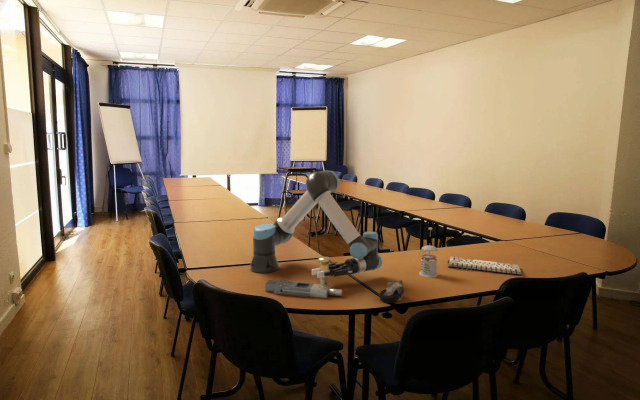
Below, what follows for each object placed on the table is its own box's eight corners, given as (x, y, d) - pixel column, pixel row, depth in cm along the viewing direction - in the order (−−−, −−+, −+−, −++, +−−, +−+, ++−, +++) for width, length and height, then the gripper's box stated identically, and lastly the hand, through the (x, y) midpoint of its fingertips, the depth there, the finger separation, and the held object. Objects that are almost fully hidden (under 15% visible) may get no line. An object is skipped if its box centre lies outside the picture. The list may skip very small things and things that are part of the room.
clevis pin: (317, 288, 192) (317, 259, 190) (320, 284, 197) (320, 256, 195) (328, 289, 191) (329, 260, 189) (331, 285, 196) (331, 257, 194)
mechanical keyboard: (518, 267, 230) (519, 261, 230) (522, 278, 213) (523, 272, 212) (448, 260, 243) (448, 255, 243) (446, 270, 225) (446, 264, 225)
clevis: (263, 292, 187) (263, 285, 186) (270, 286, 196) (270, 278, 195) (339, 300, 179) (339, 292, 178) (343, 293, 187) (343, 285, 187)
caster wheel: (382, 309, 176) (379, 297, 186) (408, 304, 176) (403, 292, 185) (380, 295, 174) (376, 284, 184) (406, 290, 174) (401, 279, 183)
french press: (427, 278, 209) (429, 229, 205) (412, 271, 219) (414, 225, 216) (442, 275, 213) (444, 228, 210) (426, 269, 224) (428, 224, 220)
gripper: (365, 277, 196) (325, 287, 183) (344, 268, 210) (304, 276, 197) (366, 262, 195) (325, 270, 182) (344, 254, 209) (305, 261, 196)
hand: (314, 273), depth 190 cm, fingers closed on clevis pin, 4 cm apart
